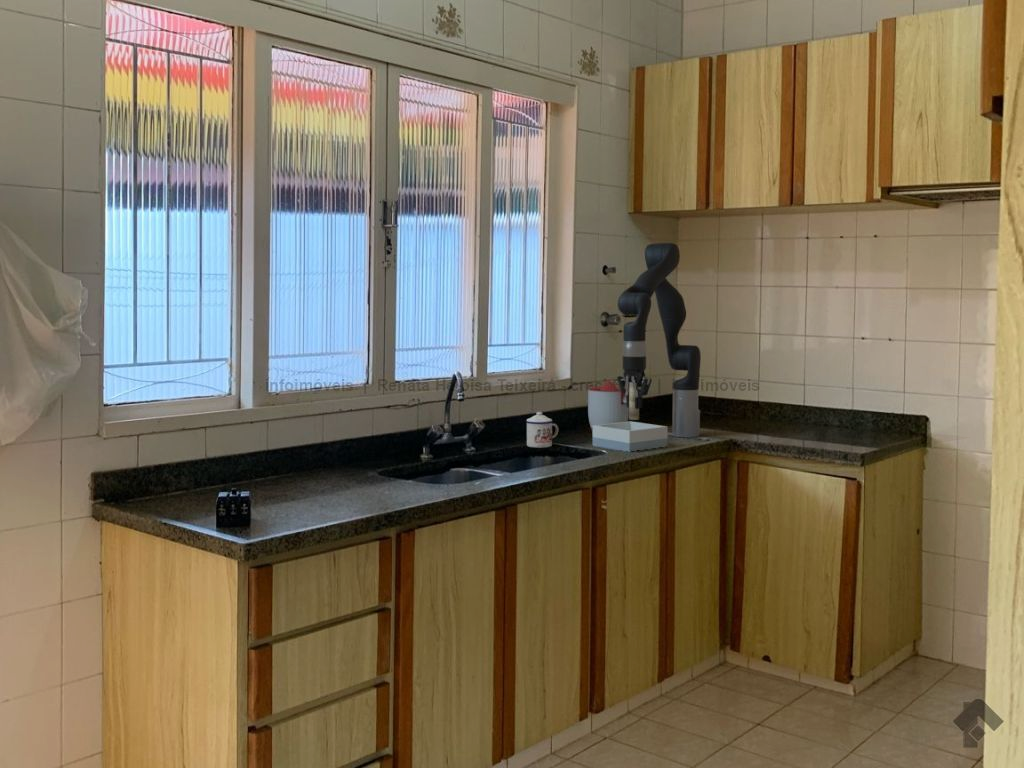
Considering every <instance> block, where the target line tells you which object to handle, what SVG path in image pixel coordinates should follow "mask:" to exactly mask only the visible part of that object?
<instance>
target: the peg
mask: <svg viewBox="0 0 1024 768" xmlns="http://www.w3.org/2000/svg"><path fill="white" fill-rule="evenodd" d="M637 387H639V386H637ZM638 391H639V390H638ZM635 397H636V396H635V390H634V389H633V383H632V382H629V417H628V420H629V421H638V420H640V409H636V408H635Z"/></svg>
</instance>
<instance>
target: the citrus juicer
mask: <svg viewBox="0 0 1024 768" xmlns="http://www.w3.org/2000/svg"><path fill="white" fill-rule="evenodd" d="M587 390H588V391H587V393H588V394H587V396H588V397H587V414H588V422H589V425H590V429H591V432H592V433H593V425H602V424H611V423H620V422H629V408H627V405H626V395H625V394H622V393H621V389H620V386H616V385H615V384H614V383H613V382H612V381H611V380H607V381H605V382H604V384H602V386H595V387H594V386H593V387H588V388H587ZM624 390H625V388H624Z"/></svg>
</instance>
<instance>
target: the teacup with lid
mask: <svg viewBox="0 0 1024 768" xmlns="http://www.w3.org/2000/svg"><path fill="white" fill-rule="evenodd" d="M525 422H526V446H527V447H529V448H537V449H539V448H541V449H542V448H549V447H550V448H551V447H552V445H553V439H554V438H555V437H557V435H558V434H559V433H558V432H559V426H558V425H557V424H556V423H553V419H552V418H549V417H548V416H546V415H544V414H543V412H542V411H537V412H536V414H535V415H533V416H531V417H529V418H527V419H526V421H525ZM553 427H554V428H555V429H554V433H553Z"/></svg>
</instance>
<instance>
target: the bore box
mask: <svg viewBox="0 0 1024 768" xmlns="http://www.w3.org/2000/svg"><path fill="white" fill-rule="evenodd" d="M668 427H669V426H665V425H660V424H659V425H658V424H651V423H645V422H639V421H633V420H628V422H620V423H611V424H602V425H593V432H592V446H593V447H598V448H603V449H609V450H616V451H620V450H622V451H621V452H626V451H628V452H627V453H632V452H631V451H634V452H638V451H637V450H641V451H645V450H644V449H648V450H652V449H651V448H656V449H659V448H658V447H663V448H667V447H668ZM666 446H667V447H666Z"/></svg>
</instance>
